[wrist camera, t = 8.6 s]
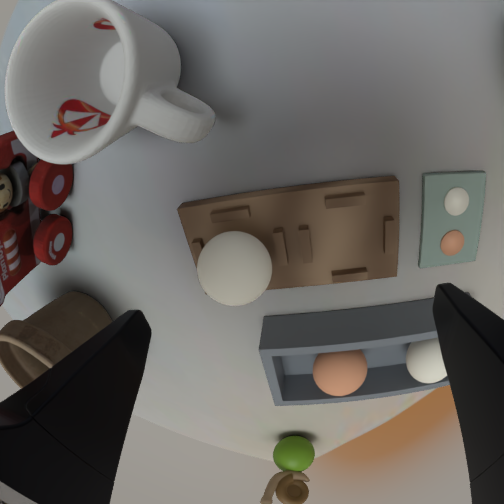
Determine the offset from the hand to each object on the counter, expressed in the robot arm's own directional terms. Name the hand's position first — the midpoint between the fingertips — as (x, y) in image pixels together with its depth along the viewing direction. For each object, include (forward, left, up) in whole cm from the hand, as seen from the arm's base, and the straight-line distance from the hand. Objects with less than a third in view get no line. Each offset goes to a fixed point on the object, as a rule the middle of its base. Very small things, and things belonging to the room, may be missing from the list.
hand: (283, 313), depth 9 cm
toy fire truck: (+20, -3, -12) cm, 24 cm away
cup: (+7, -8, -12) cm, 16 cm away
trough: (-5, +15, -12) cm, 20 cm away
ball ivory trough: (-10, +15, -11) cm, 21 cm away
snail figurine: (+4, +34, -12) cm, 36 cm away
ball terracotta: (-2, +15, -11) cm, 19 cm away
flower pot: (+22, +10, -12) cm, 27 cm away
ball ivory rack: (+4, +4, -11) cm, 12 cm away
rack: (0, +4, -12) cm, 13 cm away
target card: (-11, +4, -12) cm, 17 cm away
